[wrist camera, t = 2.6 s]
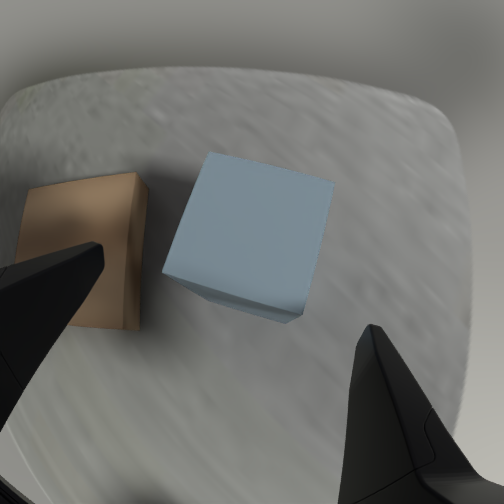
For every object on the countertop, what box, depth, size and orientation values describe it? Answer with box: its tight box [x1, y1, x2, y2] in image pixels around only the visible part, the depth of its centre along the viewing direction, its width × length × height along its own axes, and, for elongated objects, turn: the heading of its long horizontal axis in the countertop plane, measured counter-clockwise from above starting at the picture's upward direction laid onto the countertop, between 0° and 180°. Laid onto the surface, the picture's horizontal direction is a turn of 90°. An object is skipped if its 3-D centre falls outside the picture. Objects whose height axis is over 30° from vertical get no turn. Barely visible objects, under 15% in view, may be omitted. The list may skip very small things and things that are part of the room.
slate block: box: [162, 152, 335, 324], centre depth 15 cm, size 5×5×9 cm
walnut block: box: [14, 172, 149, 331], centre depth 19 cm, size 10×10×3 cm
